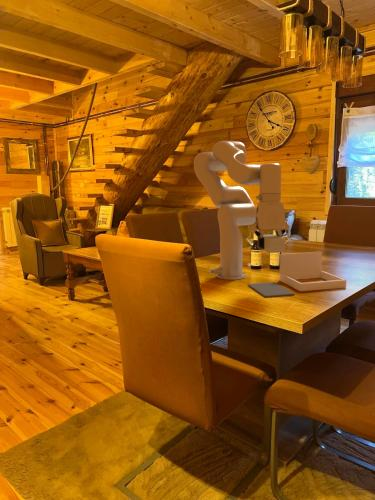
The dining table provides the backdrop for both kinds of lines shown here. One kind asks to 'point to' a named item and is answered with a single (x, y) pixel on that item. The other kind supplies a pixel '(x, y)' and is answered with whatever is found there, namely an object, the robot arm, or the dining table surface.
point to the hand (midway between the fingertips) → (269, 247)
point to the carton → (307, 272)
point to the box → (273, 243)
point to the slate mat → (270, 289)
